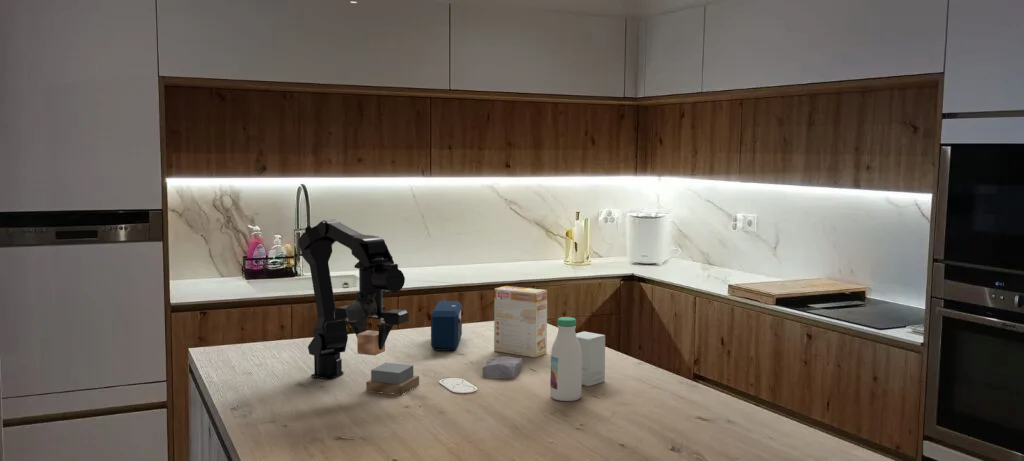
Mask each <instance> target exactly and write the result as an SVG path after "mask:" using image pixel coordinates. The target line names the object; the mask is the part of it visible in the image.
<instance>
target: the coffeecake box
mask: <svg viewBox="0 0 1024 461" xmlns="http://www.w3.org/2000/svg"><path fill="white" fill-rule="evenodd" d="M493 294H494V298H493V299H494V304H493V307H494V309H493V312H494V313H493V314H494V316H493V318H494V319H493V320H494V322H493V323H494V324H493V325H494V326H493V329H494V330H493V331H494V332H493V335H494V336H493V337H494V338H493V342H494V343H493V351H494V352H497V353H498V352H499V353H506V354H511V355H518V356H523V357H529V358H537V357H540V356H543V355H546V354H547V353H548V352H547V346H548V345H547V342H548V341H547V340H548V334H547V333H548V290H547V289H541V288H540V289H539V288H538V289H537V288H531V287H519V286H510V285H504V286H500V287H495V288H494V293H493Z"/></svg>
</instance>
